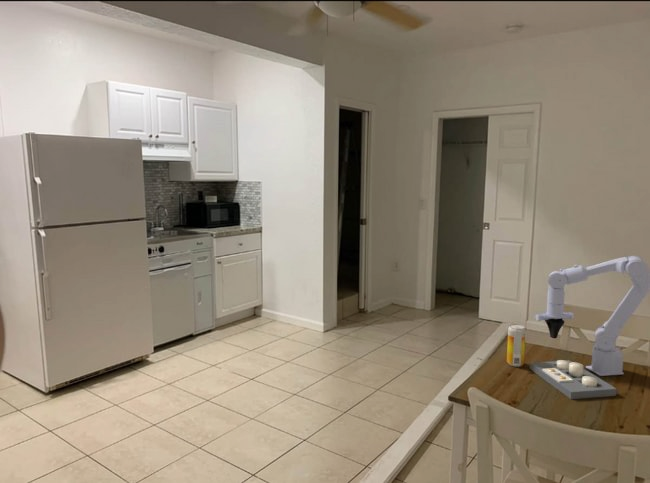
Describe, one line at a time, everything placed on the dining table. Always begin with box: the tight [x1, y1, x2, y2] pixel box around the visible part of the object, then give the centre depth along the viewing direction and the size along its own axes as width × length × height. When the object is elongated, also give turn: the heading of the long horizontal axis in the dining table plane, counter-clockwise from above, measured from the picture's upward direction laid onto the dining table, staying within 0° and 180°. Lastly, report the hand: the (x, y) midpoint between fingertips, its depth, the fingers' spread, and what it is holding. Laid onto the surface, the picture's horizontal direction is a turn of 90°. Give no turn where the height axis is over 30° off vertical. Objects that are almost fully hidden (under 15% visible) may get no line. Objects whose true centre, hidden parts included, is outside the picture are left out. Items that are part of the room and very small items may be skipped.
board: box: [529, 359, 618, 400], centre depth 163 cm, size 16×24×2 cm, turn 7°
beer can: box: [506, 324, 526, 368], centre depth 177 cm, size 6×6×15 cm
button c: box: [582, 376, 597, 387], centre depth 156 cm, size 4×4×4 cm
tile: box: [542, 368, 573, 383], centre depth 162 cm, size 5×10×1 cm, turn 7°
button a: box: [556, 359, 570, 370], centre depth 170 cm, size 4×4×4 cm
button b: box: [569, 361, 585, 378], centre depth 163 cm, size 4×4×4 cm
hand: (553, 337), depth 177 cm, fingers closed
